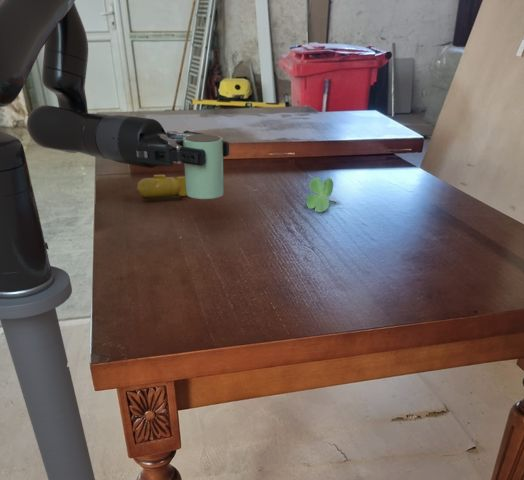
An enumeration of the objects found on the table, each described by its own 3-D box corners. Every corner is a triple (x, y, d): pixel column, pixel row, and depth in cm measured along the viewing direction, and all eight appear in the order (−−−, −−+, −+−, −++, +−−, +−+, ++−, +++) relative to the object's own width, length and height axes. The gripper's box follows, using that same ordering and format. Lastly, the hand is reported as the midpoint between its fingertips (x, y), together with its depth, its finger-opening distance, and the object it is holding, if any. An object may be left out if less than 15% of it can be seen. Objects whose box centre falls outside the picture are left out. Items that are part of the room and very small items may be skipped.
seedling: (326, 229, 111) (308, 219, 106) (317, 197, 114) (300, 186, 109) (354, 212, 107) (338, 201, 102) (345, 180, 109) (328, 168, 104)
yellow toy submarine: (138, 202, 109) (135, 178, 106) (138, 196, 112) (135, 173, 109) (188, 200, 111) (186, 176, 108) (186, 194, 114) (185, 171, 111)
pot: (187, 199, 82) (184, 142, 78) (184, 188, 87) (181, 134, 83) (226, 198, 83) (225, 141, 79) (221, 187, 89) (220, 133, 84)
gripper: (97, 122, 80) (188, 135, 74) (156, 110, 91) (239, 120, 84) (104, 173, 84) (191, 189, 78) (159, 155, 95) (239, 168, 88)
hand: (216, 153), depth 81 cm, fingers closed on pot, 6 cm apart
